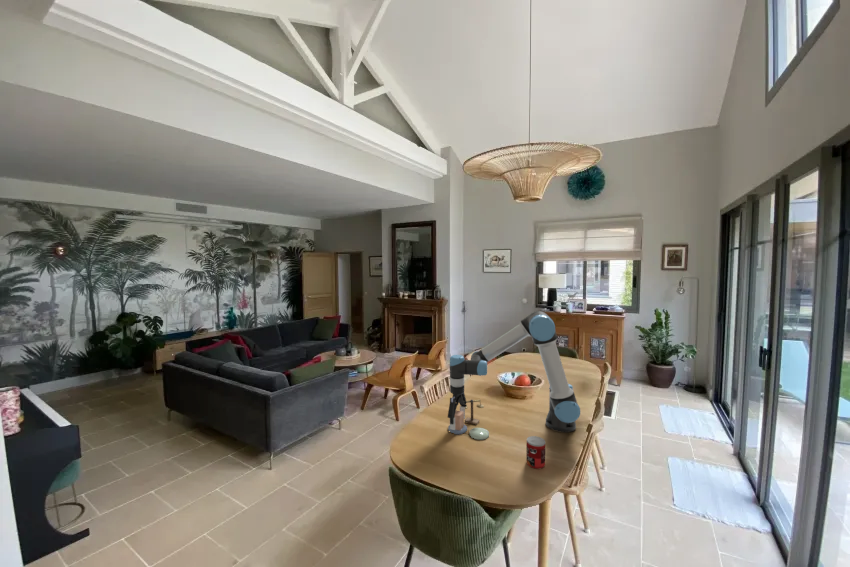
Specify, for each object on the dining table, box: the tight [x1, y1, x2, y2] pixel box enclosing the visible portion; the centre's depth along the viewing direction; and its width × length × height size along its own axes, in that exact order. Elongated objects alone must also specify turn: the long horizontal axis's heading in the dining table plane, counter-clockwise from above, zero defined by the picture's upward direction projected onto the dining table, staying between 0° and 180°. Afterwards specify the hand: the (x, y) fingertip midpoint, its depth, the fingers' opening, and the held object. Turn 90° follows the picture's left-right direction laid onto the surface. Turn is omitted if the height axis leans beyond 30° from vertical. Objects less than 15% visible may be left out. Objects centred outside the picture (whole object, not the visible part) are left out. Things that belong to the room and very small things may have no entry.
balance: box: [464, 399, 485, 426], centre depth 195 cm, size 14×4×14 cm, turn 62°
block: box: [454, 409, 465, 430], centre depth 187 cm, size 5×5×8 cm
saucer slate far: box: [447, 423, 468, 435], centre depth 188 cm, size 10×10×1 cm
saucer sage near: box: [468, 427, 490, 441], centre depth 182 cm, size 10×10×1 cm
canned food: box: [525, 435, 546, 470], centre depth 156 cm, size 8×8×11 cm
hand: (457, 423), depth 187 cm, fingers open, 13 cm apart
